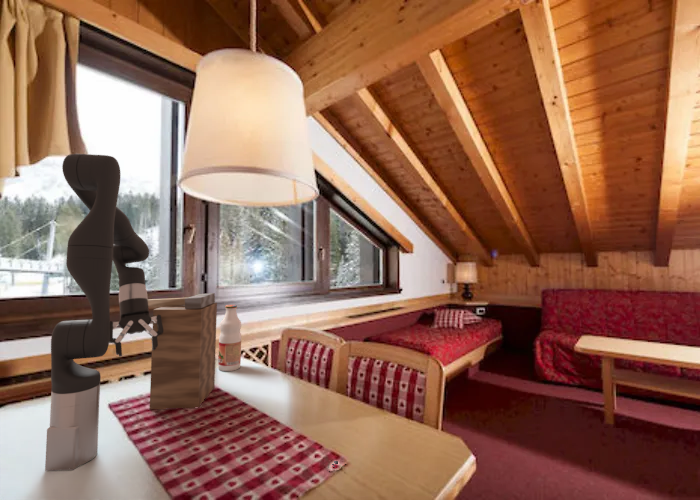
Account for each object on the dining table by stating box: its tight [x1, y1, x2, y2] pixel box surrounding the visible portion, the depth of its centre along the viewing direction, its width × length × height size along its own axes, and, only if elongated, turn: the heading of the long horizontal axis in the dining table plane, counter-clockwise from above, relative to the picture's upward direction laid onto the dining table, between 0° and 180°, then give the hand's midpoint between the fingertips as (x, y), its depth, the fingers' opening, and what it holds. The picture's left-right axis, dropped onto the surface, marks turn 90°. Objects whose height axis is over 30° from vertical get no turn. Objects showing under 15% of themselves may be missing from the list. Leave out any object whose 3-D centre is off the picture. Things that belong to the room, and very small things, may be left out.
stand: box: [149, 302, 218, 410], centre depth 119 cm, size 18×15×32 cm
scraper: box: [148, 292, 216, 309], centre depth 119 cm, size 16×25×4 cm, turn 96°
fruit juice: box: [217, 304, 242, 372], centre depth 152 cm, size 9×9×28 cm
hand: (137, 352), depth 101 cm, fingers open, 8 cm apart
